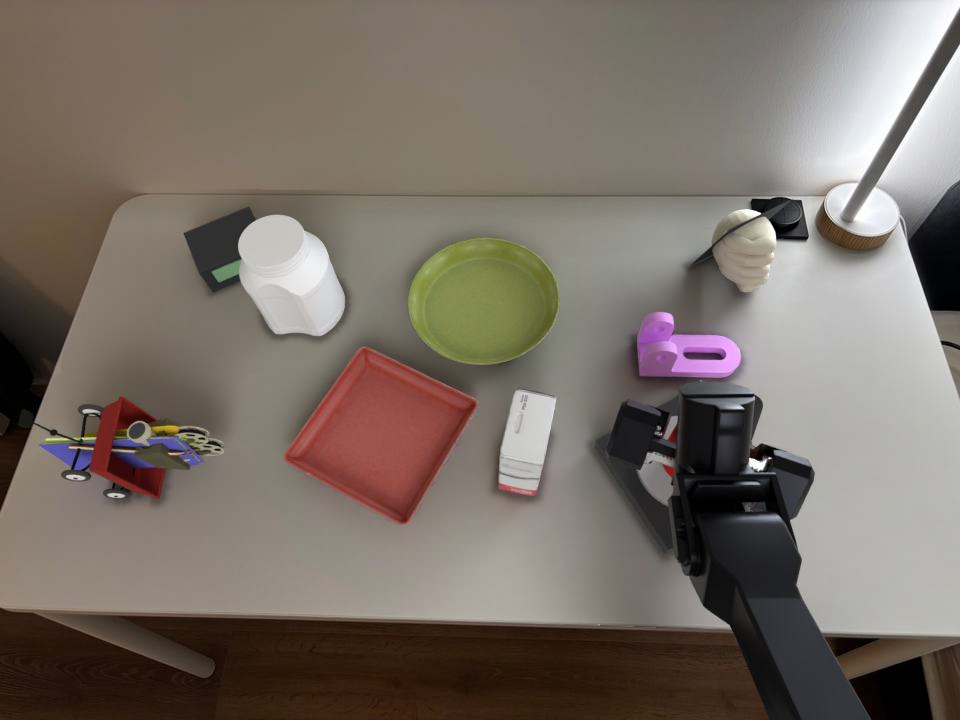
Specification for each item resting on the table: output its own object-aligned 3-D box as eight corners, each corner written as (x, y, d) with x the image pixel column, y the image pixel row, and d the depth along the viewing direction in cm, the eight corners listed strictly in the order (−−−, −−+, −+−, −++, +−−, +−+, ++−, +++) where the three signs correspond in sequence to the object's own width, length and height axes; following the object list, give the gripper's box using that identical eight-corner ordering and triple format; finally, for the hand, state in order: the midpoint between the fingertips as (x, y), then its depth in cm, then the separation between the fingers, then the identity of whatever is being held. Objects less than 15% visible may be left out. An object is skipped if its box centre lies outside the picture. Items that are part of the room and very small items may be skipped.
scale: (769, 493, 78) (778, 485, 75) (664, 554, 75) (670, 548, 72) (692, 393, 84) (698, 383, 81) (594, 446, 81) (596, 437, 79)
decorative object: (772, 283, 94) (715, 311, 92) (735, 223, 96) (678, 250, 94) (825, 247, 82) (761, 280, 80) (782, 179, 83) (718, 209, 81)
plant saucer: (366, 354, 89) (361, 343, 86) (482, 411, 84) (481, 400, 81) (287, 467, 82) (279, 458, 79) (410, 535, 77) (406, 529, 74)
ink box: (538, 498, 78) (542, 466, 68) (497, 489, 79) (495, 456, 69) (551, 433, 82) (557, 393, 72) (512, 425, 83) (512, 384, 73)
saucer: (587, 299, 92) (590, 286, 89) (495, 404, 85) (495, 394, 82) (474, 228, 98) (473, 214, 95) (380, 320, 91) (376, 308, 88)
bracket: (639, 376, 86) (649, 350, 79) (636, 339, 88) (646, 311, 82) (740, 378, 85) (758, 352, 79) (734, 340, 87) (751, 313, 81)
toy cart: (96, 437, 86) (241, 422, 84) (79, 506, 81) (232, 492, 80) (-7, 381, 71) (167, 360, 69) (-34, 462, 66) (151, 443, 64)
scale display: (278, 266, 96) (267, 245, 92) (213, 293, 95) (199, 273, 90) (260, 228, 100) (248, 206, 96) (197, 254, 98) (183, 232, 94)
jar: (350, 280, 95) (324, 211, 81) (338, 337, 90) (309, 274, 77) (274, 277, 96) (235, 208, 82) (258, 333, 91) (215, 270, 78)
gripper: (857, 448, 53) (821, 391, 67) (632, 374, 56) (643, 335, 71) (802, 560, 56) (779, 483, 71) (594, 484, 60) (612, 425, 74)
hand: (703, 429), depth 71 cm, fingers open, 8 cm apart
